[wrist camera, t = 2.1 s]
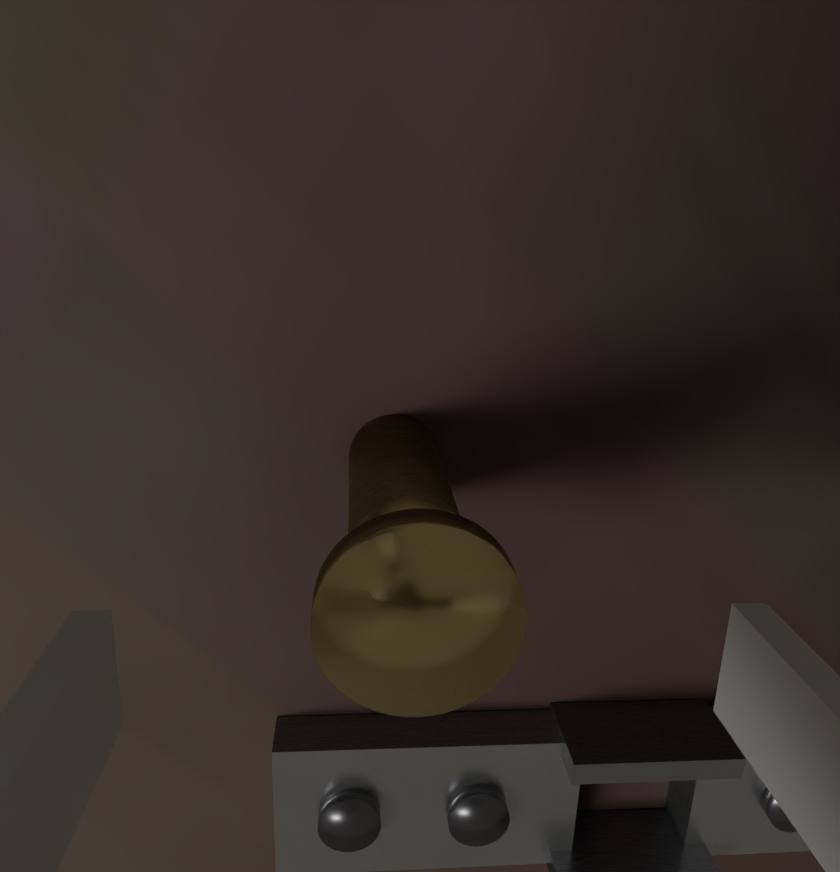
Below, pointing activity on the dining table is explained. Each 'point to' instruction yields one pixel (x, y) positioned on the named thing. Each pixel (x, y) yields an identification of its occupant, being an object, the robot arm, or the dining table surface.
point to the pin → (413, 585)
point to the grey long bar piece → (517, 790)
